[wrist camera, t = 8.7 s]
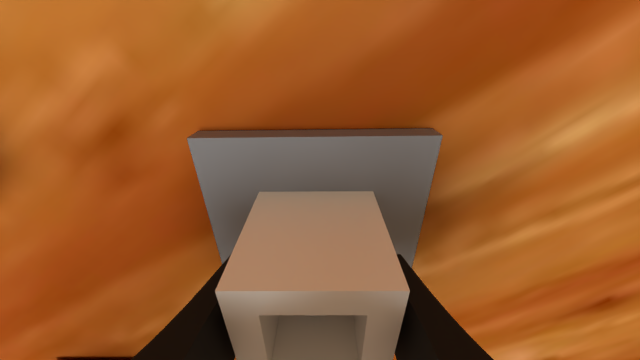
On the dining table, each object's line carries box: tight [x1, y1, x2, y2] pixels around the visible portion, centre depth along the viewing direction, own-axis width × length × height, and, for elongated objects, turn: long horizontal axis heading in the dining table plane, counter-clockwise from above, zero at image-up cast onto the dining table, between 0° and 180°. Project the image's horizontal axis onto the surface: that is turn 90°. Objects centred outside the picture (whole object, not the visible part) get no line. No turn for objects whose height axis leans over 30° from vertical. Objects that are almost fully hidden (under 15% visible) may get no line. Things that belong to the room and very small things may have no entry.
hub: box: [215, 191, 410, 360], centre depth 10 cm, size 5×5×5 cm
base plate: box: [187, 128, 443, 317], centre depth 11 cm, size 10×10×4 cm
